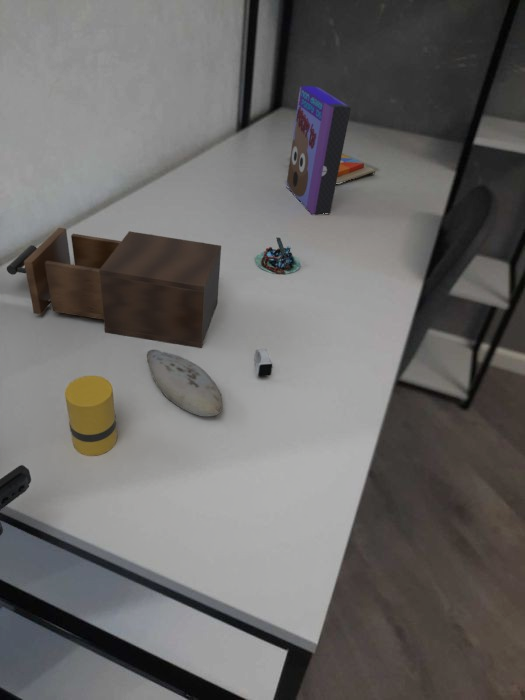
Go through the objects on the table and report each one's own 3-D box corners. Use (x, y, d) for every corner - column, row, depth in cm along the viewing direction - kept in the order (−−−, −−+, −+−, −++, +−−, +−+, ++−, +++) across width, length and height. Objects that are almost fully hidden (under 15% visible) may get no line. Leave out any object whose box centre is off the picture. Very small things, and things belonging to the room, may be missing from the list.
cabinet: (105, 332, 78) (99, 269, 72) (132, 289, 89) (129, 231, 82) (201, 348, 78) (204, 286, 71) (217, 303, 88) (221, 245, 82)
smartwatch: (251, 365, 76) (254, 343, 74) (265, 364, 77) (268, 342, 74) (256, 381, 73) (259, 360, 71) (271, 380, 74) (275, 359, 72)
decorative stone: (166, 353, 76) (166, 334, 74) (238, 411, 68) (240, 392, 66) (130, 369, 73) (129, 350, 70) (201, 433, 65) (203, 413, 63)
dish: (310, 258, 99) (281, 232, 97) (288, 288, 99) (258, 263, 97) (296, 257, 107) (268, 234, 104) (275, 285, 107) (247, 262, 104)
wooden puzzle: (287, 165, 148) (289, 153, 146) (331, 157, 159) (333, 145, 157) (333, 186, 139) (335, 173, 137) (376, 175, 150) (379, 163, 148)
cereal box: (286, 186, 135) (300, 85, 120) (303, 186, 137) (319, 86, 122) (311, 214, 122) (330, 105, 108) (329, 214, 124) (351, 106, 109)
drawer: (5, 308, 79) (-7, 256, 73) (40, 272, 88) (32, 223, 83) (121, 327, 78) (117, 276, 73) (144, 288, 87) (142, 240, 82)
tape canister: (65, 452, 60) (56, 402, 55) (82, 421, 64) (75, 371, 59) (108, 459, 60) (103, 410, 55) (123, 428, 64) (119, 379, 59)
